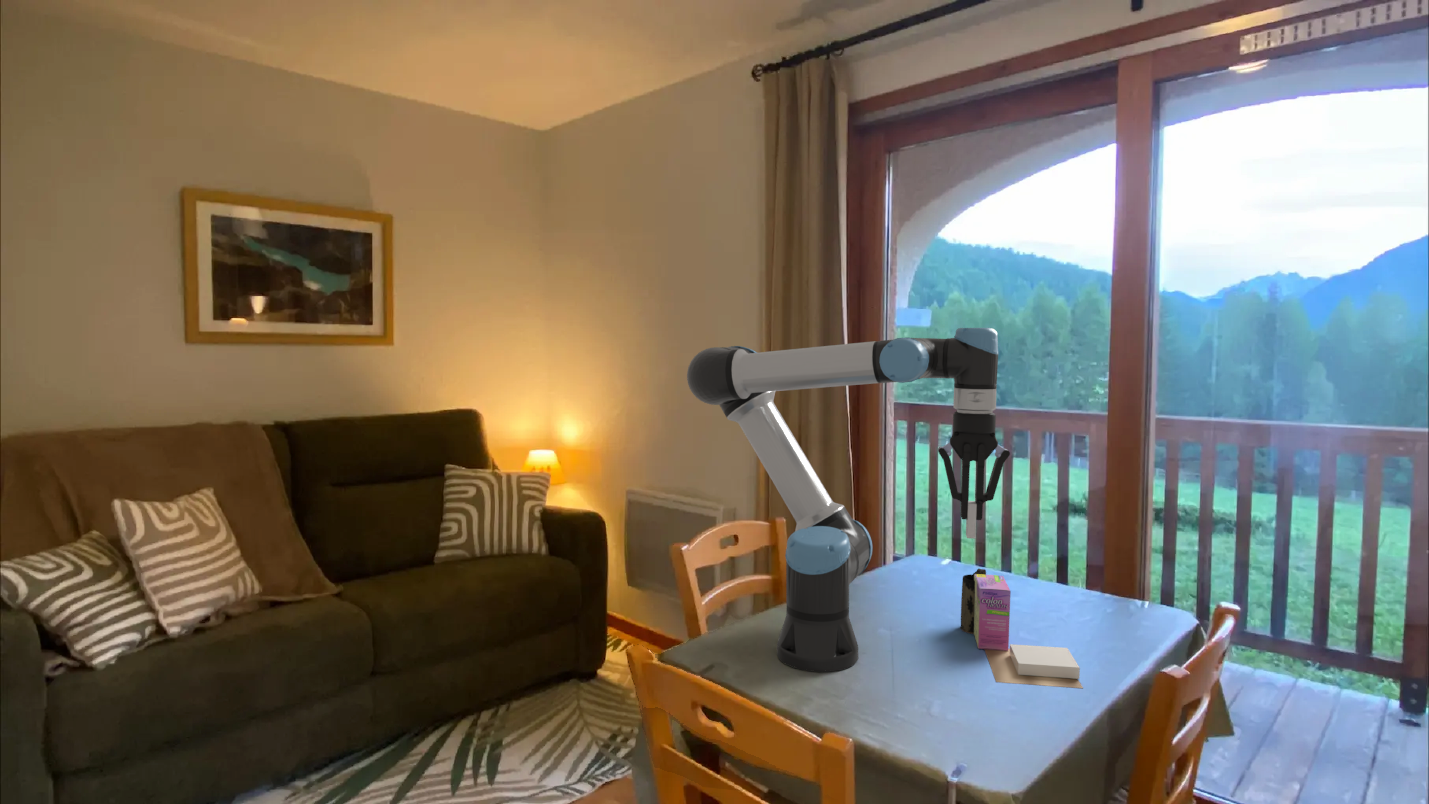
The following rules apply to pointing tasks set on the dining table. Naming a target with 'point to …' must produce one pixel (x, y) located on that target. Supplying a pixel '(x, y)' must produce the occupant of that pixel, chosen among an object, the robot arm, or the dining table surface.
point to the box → (991, 612)
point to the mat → (1008, 674)
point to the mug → (968, 602)
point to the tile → (1044, 661)
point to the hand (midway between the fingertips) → (970, 536)
